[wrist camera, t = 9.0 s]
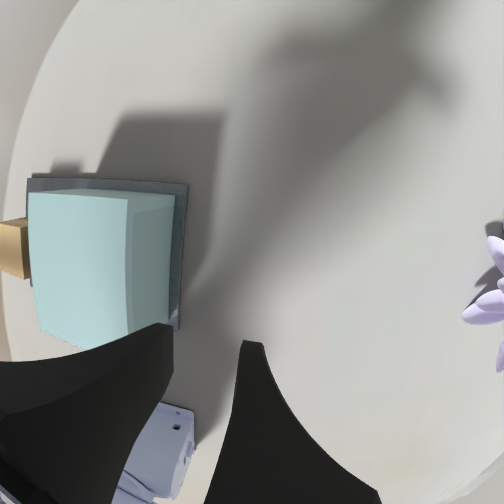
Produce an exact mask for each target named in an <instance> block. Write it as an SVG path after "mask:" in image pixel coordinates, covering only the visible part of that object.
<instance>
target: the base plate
mask: <svg viewBox="0 0 504 504" xmlns="http://www.w3.org/2000/svg"><path fill="white" fill-rule="evenodd" d="M188 188H189V185H187V184H176V183H163V182H150V181H135V180H116V179H90V178H27V191H26V217H28V197H29V193H31V192H42V191H55V190H69V189H102V190H117V191H131V192H143V193H155V194H166V195H175V204H174V215H173V227H172V240H171V256H170V277H169V320H168V322H167V325H171V326H173V331H176V332H177V331H178V330H179V313H180V287H181V269H182V253H183V240H184V228H185V217H186V207H187V197H188ZM30 285H31V287H33V284H32V277H30Z"/></svg>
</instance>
